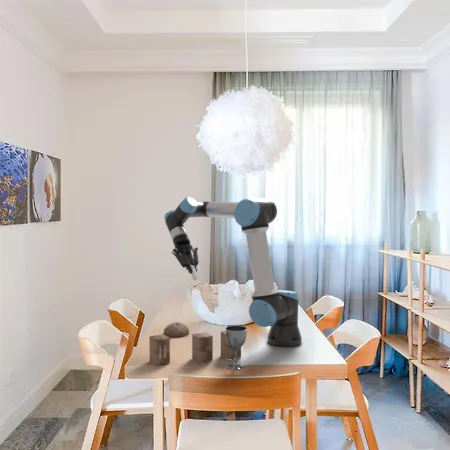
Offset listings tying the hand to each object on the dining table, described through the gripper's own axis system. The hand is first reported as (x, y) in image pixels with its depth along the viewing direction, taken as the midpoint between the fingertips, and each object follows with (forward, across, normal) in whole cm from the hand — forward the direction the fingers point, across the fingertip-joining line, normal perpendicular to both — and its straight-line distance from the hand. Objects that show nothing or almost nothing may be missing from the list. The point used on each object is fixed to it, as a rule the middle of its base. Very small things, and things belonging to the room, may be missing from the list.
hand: (195, 278), depth 213 cm
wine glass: (+47, +2, +7) cm, 47 cm away
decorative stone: (+11, +4, -30) cm, 32 cm away
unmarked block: (+37, +10, -2) cm, 39 cm away
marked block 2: (+39, -2, -1) cm, 39 cm away
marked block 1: (+33, +25, -6) cm, 42 cm away
